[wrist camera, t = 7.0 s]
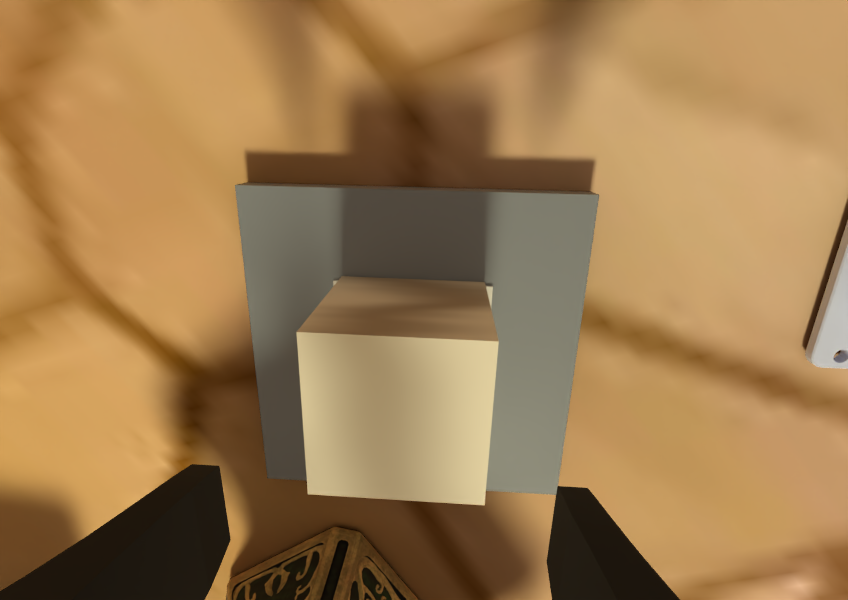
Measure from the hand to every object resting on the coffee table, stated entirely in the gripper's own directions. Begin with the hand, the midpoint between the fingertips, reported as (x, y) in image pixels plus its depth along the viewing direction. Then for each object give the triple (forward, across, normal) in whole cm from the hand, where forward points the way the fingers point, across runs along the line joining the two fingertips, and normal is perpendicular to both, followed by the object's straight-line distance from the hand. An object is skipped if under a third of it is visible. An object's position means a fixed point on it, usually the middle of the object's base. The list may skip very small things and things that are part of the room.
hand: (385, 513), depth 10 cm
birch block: (+8, 0, 0) cm, 8 cm away
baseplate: (+9, 0, 0) cm, 9 cm away
